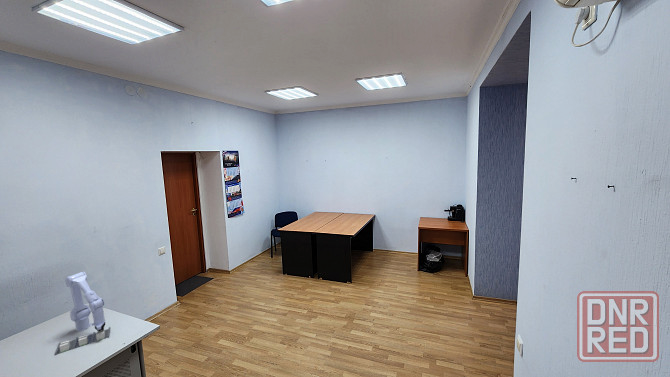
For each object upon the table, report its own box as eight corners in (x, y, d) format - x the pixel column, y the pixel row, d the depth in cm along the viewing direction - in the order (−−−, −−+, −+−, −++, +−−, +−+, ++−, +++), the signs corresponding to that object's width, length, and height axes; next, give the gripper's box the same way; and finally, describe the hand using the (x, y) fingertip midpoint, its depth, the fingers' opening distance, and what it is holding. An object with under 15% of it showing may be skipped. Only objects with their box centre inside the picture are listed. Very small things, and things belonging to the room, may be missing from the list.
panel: (59, 346, 182) (58, 343, 182) (110, 329, 198) (110, 326, 198) (55, 356, 173) (54, 353, 172) (109, 338, 188) (109, 335, 188)
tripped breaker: (97, 337, 188) (96, 331, 188) (105, 334, 190) (104, 329, 190) (97, 340, 185) (96, 334, 184) (104, 337, 187) (103, 332, 187)
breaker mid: (80, 342, 183) (79, 336, 183) (88, 339, 186) (87, 334, 185) (79, 345, 180) (78, 340, 179) (87, 343, 182) (86, 337, 182)
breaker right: (61, 348, 178) (60, 342, 177) (70, 345, 180) (69, 340, 180) (60, 352, 175) (59, 346, 174) (68, 349, 177) (67, 343, 176)
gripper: (91, 313, 191) (94, 330, 193) (89, 323, 180) (93, 342, 182) (104, 309, 196) (107, 326, 198) (103, 319, 184) (106, 337, 186)
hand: (101, 333), depth 190 cm, fingers closed
